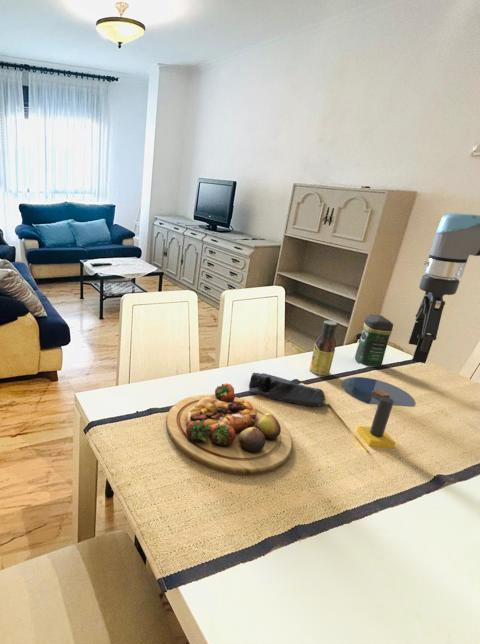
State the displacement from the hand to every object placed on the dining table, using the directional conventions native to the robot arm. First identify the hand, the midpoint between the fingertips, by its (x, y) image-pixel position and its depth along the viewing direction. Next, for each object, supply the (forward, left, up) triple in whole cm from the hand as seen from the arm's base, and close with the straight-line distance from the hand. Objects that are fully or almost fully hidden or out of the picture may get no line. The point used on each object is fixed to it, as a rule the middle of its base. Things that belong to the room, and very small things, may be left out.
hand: (416, 352), depth 105 cm
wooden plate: (+51, +14, -20) cm, 57 cm away
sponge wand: (+14, +15, -20) cm, 29 cm away
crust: (-1, -9, -19) cm, 21 cm away
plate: (-1, -11, -20) cm, 23 cm away
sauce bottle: (+12, -23, -20) cm, 33 cm away
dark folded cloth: (+28, -9, -20) cm, 36 cm away
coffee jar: (-11, -35, -20) cm, 42 cm away
